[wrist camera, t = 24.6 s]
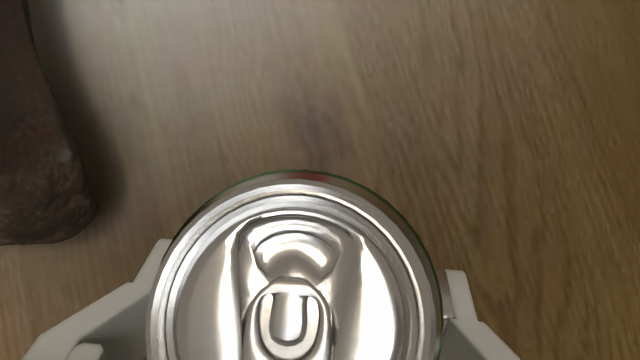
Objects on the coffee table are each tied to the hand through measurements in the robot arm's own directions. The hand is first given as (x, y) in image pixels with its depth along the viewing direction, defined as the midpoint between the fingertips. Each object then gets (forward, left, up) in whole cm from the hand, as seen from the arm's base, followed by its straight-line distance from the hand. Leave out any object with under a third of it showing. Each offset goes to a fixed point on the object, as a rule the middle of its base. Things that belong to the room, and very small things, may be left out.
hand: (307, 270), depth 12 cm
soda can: (0, +1, -7) cm, 7 cm away
